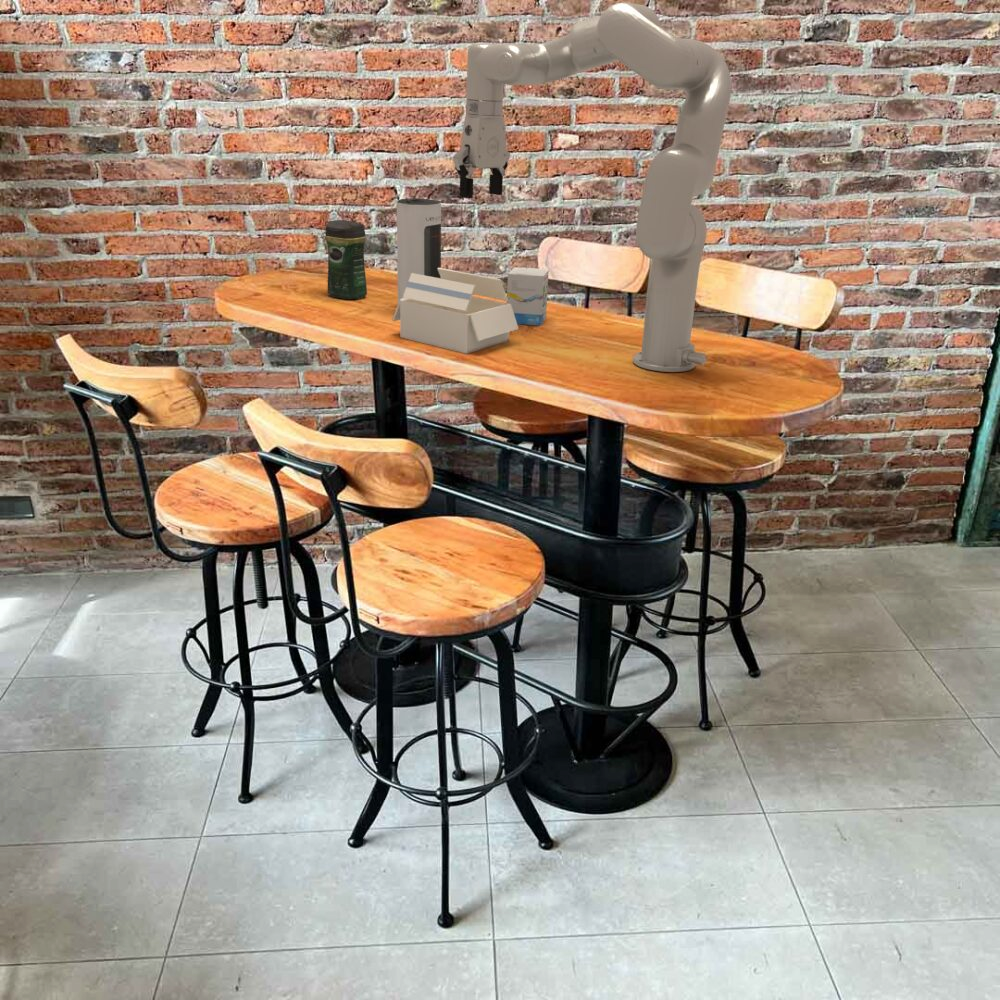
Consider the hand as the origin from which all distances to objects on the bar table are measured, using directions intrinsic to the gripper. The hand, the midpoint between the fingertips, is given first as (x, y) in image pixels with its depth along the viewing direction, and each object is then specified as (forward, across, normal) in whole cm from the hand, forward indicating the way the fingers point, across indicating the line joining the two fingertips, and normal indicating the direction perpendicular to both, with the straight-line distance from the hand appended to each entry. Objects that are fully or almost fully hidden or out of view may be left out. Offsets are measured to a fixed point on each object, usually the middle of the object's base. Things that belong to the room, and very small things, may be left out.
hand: (481, 196), depth 208 cm
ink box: (+29, +15, -3) cm, 33 cm away
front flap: (+20, -17, -2) cm, 27 cm away
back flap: (+20, -3, -2) cm, 21 cm away
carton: (+29, -10, -2) cm, 31 cm away
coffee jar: (+30, +2, +44) cm, 53 cm away
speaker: (+29, +2, +20) cm, 36 cm away
